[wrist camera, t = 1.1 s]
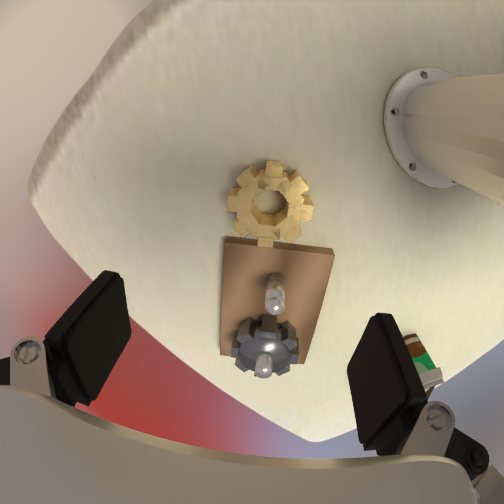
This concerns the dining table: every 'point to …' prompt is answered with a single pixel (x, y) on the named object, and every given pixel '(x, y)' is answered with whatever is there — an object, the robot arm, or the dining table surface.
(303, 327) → the gear board
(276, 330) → the gear
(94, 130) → the dining table surface
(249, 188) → the wooden gear
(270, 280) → the peg
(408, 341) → the food container
